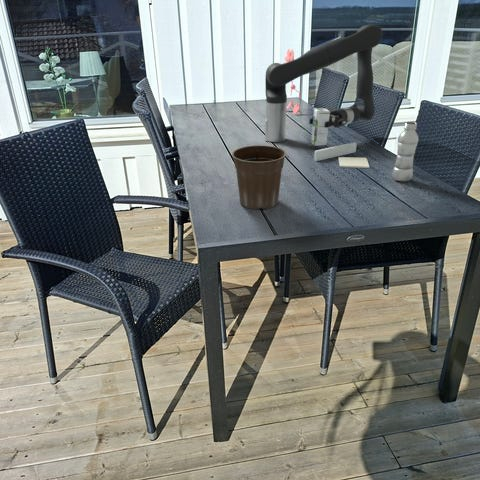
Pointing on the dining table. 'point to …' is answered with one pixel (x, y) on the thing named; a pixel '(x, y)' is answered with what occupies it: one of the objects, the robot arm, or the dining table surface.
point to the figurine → (290, 58)
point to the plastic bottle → (406, 152)
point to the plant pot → (259, 175)
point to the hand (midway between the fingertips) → (317, 123)
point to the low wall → (335, 151)
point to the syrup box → (320, 126)
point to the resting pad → (353, 162)
